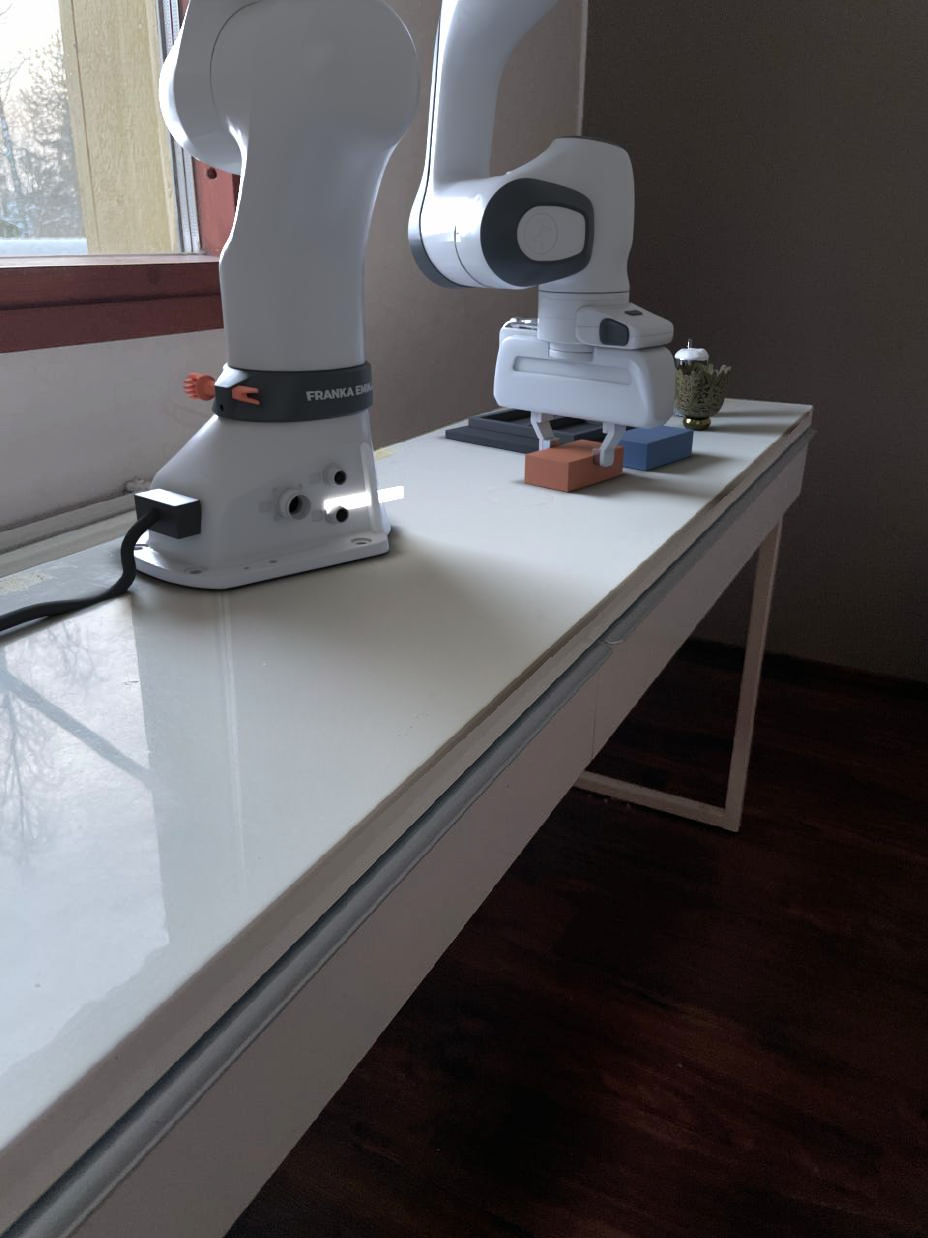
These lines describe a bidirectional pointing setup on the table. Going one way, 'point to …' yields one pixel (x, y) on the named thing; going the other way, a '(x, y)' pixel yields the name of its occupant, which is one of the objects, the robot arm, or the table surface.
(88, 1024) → the table surface
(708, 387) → the cup
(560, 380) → the robot arm
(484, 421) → the backing plate
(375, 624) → the table surface
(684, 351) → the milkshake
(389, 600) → the table surface
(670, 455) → the blue rectangular block
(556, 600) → the table surface
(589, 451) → the orange-red rectangular block
